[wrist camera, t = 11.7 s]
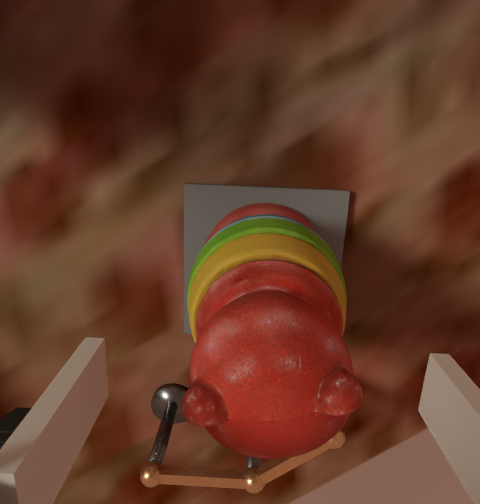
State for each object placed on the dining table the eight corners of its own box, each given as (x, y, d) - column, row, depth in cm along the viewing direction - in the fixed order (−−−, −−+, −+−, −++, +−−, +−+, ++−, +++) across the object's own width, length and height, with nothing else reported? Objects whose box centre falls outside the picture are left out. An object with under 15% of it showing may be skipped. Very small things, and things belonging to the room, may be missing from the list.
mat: (185, 182, 30) (183, 184, 29) (348, 190, 30) (350, 191, 29) (184, 329, 33) (183, 333, 33) (331, 337, 33) (332, 340, 32)
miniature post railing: (151, 340, 34) (118, 408, 25) (339, 350, 33) (367, 422, 25) (153, 417, 36) (123, 502, 28) (329, 427, 36) (352, 516, 27)
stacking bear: (196, 325, 32) (133, 540, 15) (188, 200, 30) (101, 293, 13) (331, 325, 32) (420, 544, 15) (337, 198, 29) (455, 290, 12)
